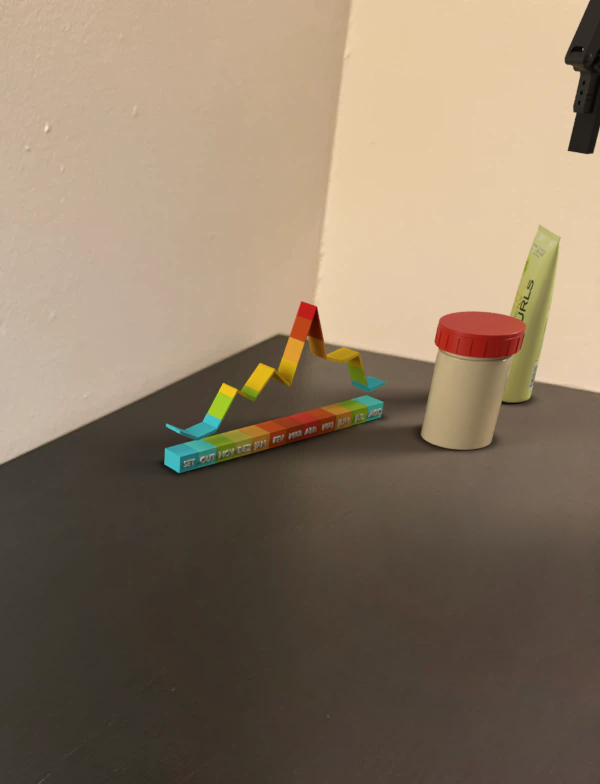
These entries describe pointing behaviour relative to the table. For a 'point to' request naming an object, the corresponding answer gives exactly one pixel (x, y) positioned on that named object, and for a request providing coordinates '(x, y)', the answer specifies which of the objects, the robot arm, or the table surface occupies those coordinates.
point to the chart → (282, 428)
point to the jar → (464, 400)
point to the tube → (532, 312)
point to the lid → (480, 334)
